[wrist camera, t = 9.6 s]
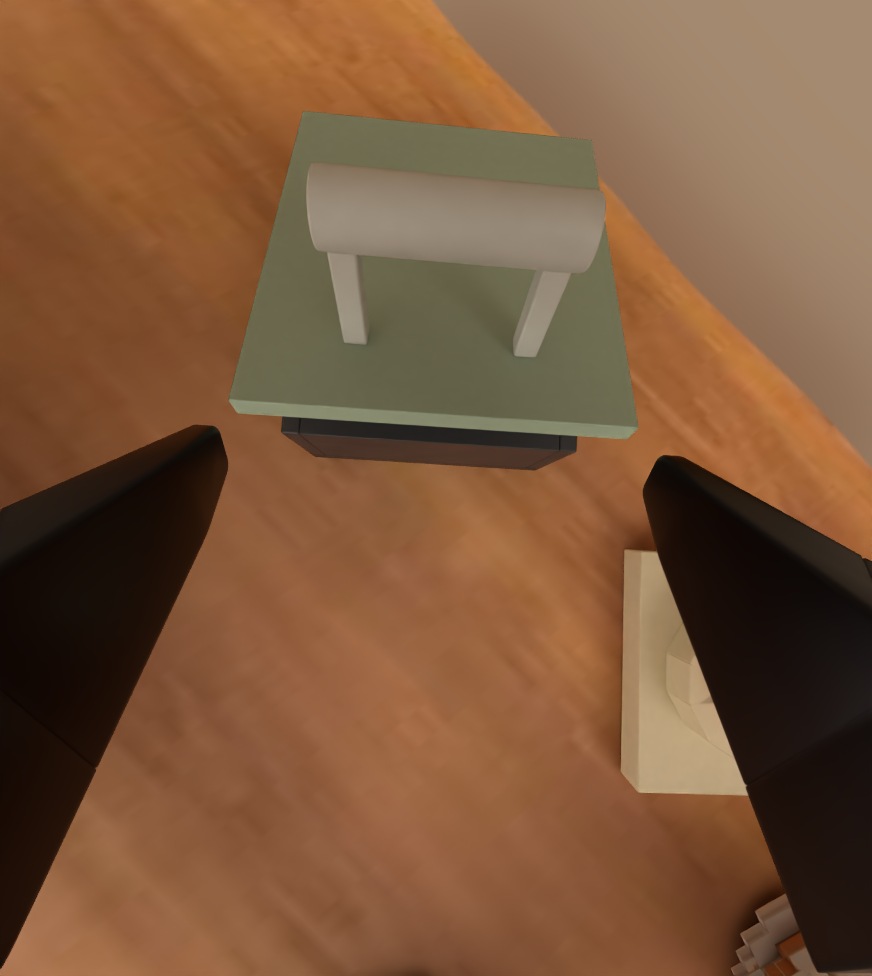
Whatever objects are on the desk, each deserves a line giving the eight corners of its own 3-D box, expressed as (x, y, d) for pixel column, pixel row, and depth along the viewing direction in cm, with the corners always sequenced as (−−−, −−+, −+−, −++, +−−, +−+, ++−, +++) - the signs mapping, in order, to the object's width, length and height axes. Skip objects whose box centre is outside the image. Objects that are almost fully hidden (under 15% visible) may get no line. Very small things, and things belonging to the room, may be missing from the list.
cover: (627, 439, 13) (766, 302, 8) (237, 414, 12) (125, 248, 7) (585, 158, 18) (653, -33, 13) (306, 130, 17) (267, -80, 12)
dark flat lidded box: (535, 470, 22) (577, 452, 17) (314, 456, 22) (280, 433, 16) (543, 245, 24) (584, 157, 18) (333, 227, 23) (307, 130, 17)
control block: (793, 776, 22) (865, 824, 18) (620, 772, 21) (660, 820, 18) (789, 557, 23) (857, 563, 19) (623, 549, 22) (662, 553, 19)
